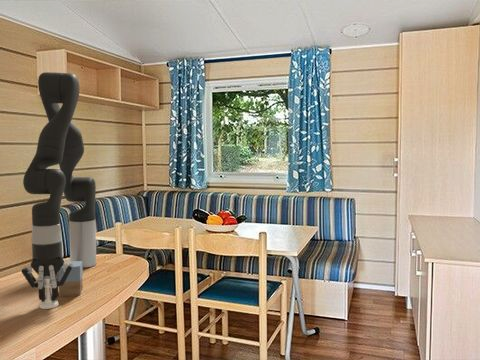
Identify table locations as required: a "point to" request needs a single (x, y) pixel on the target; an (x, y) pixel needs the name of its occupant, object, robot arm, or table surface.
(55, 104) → the robot arm
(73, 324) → the table surface
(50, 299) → the chess piece
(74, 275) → the slate-blue block
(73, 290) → the walnut block
